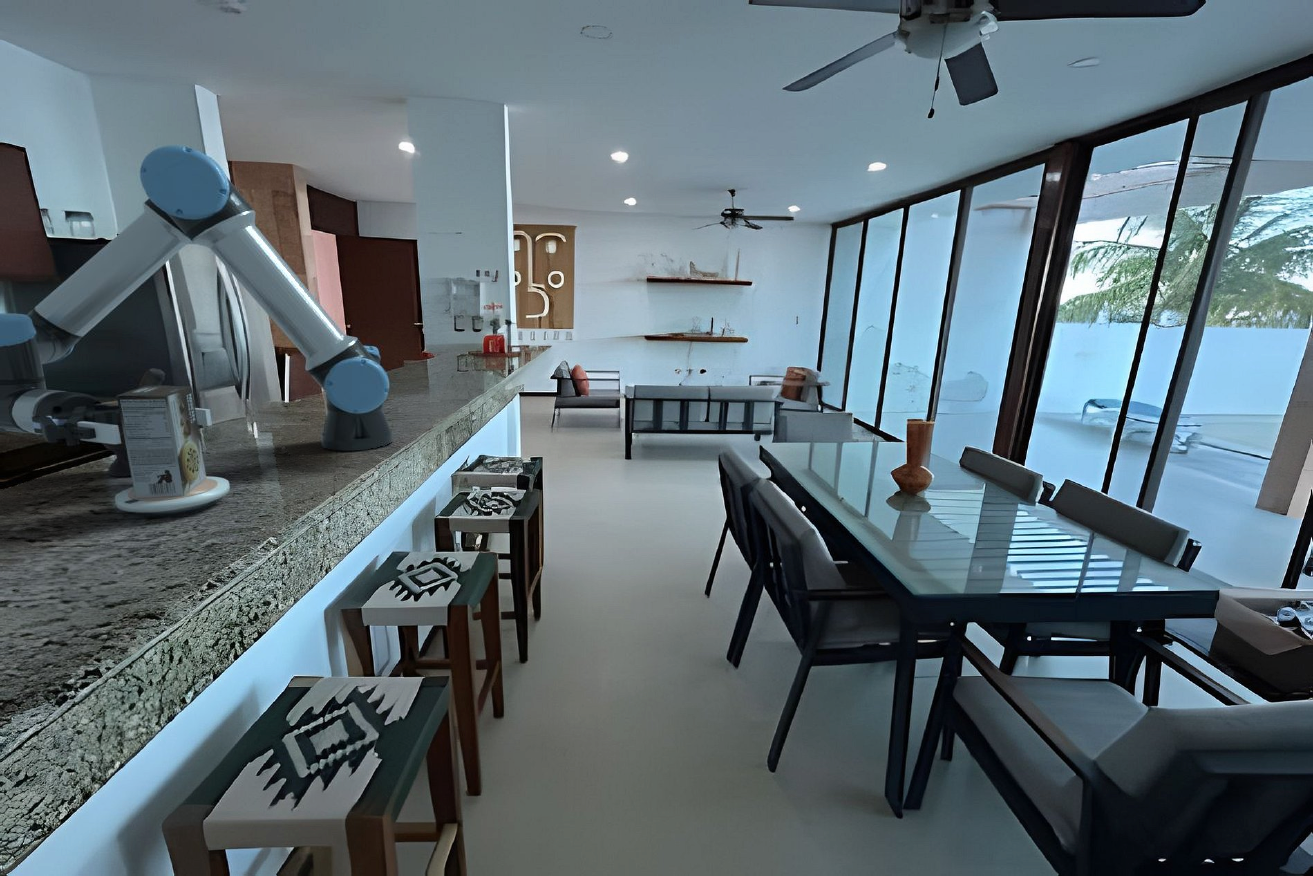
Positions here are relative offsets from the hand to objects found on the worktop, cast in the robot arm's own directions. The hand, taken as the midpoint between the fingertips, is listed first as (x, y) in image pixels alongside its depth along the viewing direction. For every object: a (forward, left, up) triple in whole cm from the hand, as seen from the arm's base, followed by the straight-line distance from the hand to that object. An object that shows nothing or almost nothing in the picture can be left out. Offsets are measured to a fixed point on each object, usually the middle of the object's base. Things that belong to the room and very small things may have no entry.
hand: (166, 425), depth 87 cm
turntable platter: (0, -1, -12) cm, 12 cm away
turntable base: (0, -1, -14) cm, 14 cm away
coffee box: (0, -1, -11) cm, 11 cm away
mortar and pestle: (-12, -24, -14) cm, 30 cm away
